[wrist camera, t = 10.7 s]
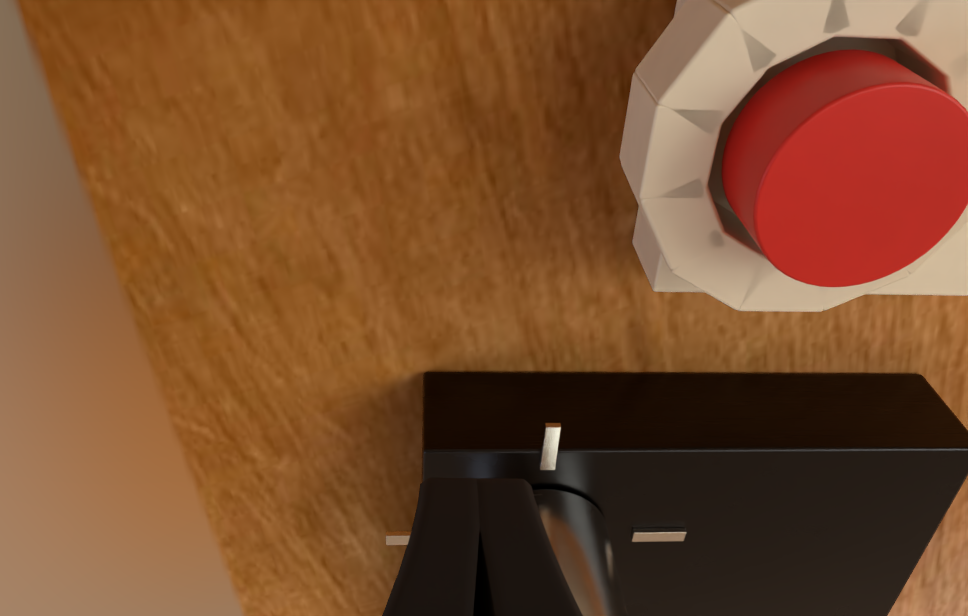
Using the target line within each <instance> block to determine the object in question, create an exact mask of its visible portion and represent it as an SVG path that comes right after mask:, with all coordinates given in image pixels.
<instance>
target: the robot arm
mask: <svg viewBox="0 0 968 616" xmlns="http://www.w3.org/2000/svg"><path fill="white" fill-rule="evenodd" d="M382 616H583V615H582V613H581V611H580V609H579V607H578V605H577V602H576V600H575V598H574V596H573V594H572V592H571V590H570V588H569V585H568V583H567V581H566V579H565V577H564V574H563V572H562V570H561V567H560V565H559V562H558V560H557V558H556V555H555V553H554V551H553V548H552V546H551V543H550V541H549V538H548V535H547V533H546V530H545V528H544V525H543V522H542V519H541V516H540V513H539V510H538V507H537V504H536V501H535V498H534V494H533V491H532V487H531V485H530V484H529V483H528V482H527V481H526V480H524V479H500V478H428V479H427V480H425V481H424V482H422V483H421V484H420V491H419V500H418V505H417V510H416V514H415V519H414V523H413V527H412V531H411V534H410V538H409V541H408V545H407V548H406V551H405V554H404V557H403V560H402V564H401V567H400V570H399V573H398V575H397V578H396V581H395V583H394V586H393V589H392V591H391V594H390V597H389V599H388V602H387V605H386V607H385V610H384V613H383V615H382Z"/></svg>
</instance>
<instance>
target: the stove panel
mask: <svg viewBox="0 0 968 616" xmlns="http://www.w3.org/2000/svg"><path fill="white" fill-rule="evenodd" d="M967 476H968V430H967V429H966V428H965V427H964V425H963V424H962V423H961V422H960V421H959V419H958V418H957V417H956V416H955V415H954V413H953V412H952V411H951V410H950V408H949V407H948V406H947V405H946V404H945V402H944V401H943V400H942V399H941V397H940V396H939V395H938V394H937V393H936V391H935V390H934V389H933V388H932V387H931V385H930V384H929V383H928V382H927V380H926V379H925V378H924V377H923V376H922V375H920V374H742V373H495V372H426V373H424V375H423V423H422V482H424V481H425V480H427V479H428V478H500V479H524V480H526V481H527V482H528V483H529V484H530V485H531V487H532V490H534V489H556V490H563V491H567V492H571V493H574V494H577V495H579V496H581V497H583V498H585V499H587V500H588V501H590V502H591V503H592V504H593V505H595V506H596V507H597V508H598V510H599V511H600V512H601V514H602V515H603V517H604V519H605V522H606V525H607V529H608V534H609V538H610V542H611V546H612V550H613V554H614V559H615V563H616V567H617V571H618V575H619V580H620V584H621V588H622V592H623V596H624V601H625V605H626V609H627V613H628V616H887V615H888V613H889V612H890V610H891V608H892V606H893V605H894V603H895V601H896V599H897V598H898V596H899V594H900V592H901V591H902V589H903V587H904V585H905V584H906V582H907V580H908V579H909V577H910V575H911V573H912V572H913V570H914V568H915V566H916V565H917V563H918V561H919V559H920V558H921V556H922V554H923V552H924V551H925V549H926V547H927V545H928V544H929V542H930V540H931V538H932V537H933V535H934V533H935V531H936V530H937V528H938V526H939V524H940V523H941V521H942V519H943V517H944V516H945V514H946V512H947V510H948V509H949V507H950V505H951V504H952V502H953V500H954V498H955V497H956V495H957V493H958V491H959V490H960V488H961V486H962V484H963V483H964V481H965V479H966V477H967ZM410 534H411V531H390V532H386V545H408V541H409V538H410Z"/></svg>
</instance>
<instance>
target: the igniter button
mask: <svg viewBox="0 0 968 616" xmlns="http://www.w3.org/2000/svg"><path fill="white" fill-rule="evenodd" d="M721 174H722V183H723V188H724V192H725V195H726V198H727V200H728V202H729V204H730V206H731V208H732V209H733V211H734V212H735V214H736V215H737V217H738V218H739V220H740V221H741V222H742V224H743V225H744V227H745V228H746V230H747V231H748V232H749V234H750V235H751V237H752V238H753V240H754V241H755V242H756V244H757V245H758V247H759V248H760V250H761V251H762V252H763V254H764V255H765V257H766V258H767V260H768V261H769V262H770V263H771V264H772V265H773V266H774V267H775V268H776V269H778V270H779V271H780V272H782V273H783V274H785V275H787V276H788V277H790V278H792V279H794V280H797V281H800V282H803V283H806V284H810V285H815V286H820V287H848V286H854V285H860V284H864V283H868V282H872V281H875V280H878V279H880V278H883V277H886V276H888V275H890V274H892V273H895V272H897V271H899V270H901V269H902V268H904V267H906V266H908V265H909V264H911V263H913V262H914V261H916V260H917V259H918V258H920V257H921V256H923V255H924V254H925V253H927V252H928V251H929V250H930V249H931V248H933V247H934V246H935V245H936V244H937V243H938V242H939V241H940V240H941V239H942V238H943V237H944V236H945V235H946V234H947V233H948V232H949V231H950V229H951V228H952V227H953V226H954V224H955V223H956V222H957V221H958V219H959V218H960V216H961V214H962V213H963V211H964V210H965V208H966V206H967V204H968V111H967V110H966V108H965V107H964V106H963V105H962V104H961V103H960V102H959V101H958V100H957V99H955V98H954V97H952V96H951V95H949V94H948V93H946V92H945V91H943V90H942V89H940V88H938V87H937V86H935V85H933V84H932V83H930V82H929V81H927V80H925V79H924V78H922V77H920V76H919V75H917V74H916V73H914V72H912V71H911V70H909V69H907V68H906V67H904V66H903V65H901V64H899V63H898V62H896V61H894V60H893V59H891V58H888V57H886V56H884V55H882V54H878V53H875V52H871V51H865V50H856V49H853V50H837V51H831V52H826V53H822V54H819V55H815V56H812V57H809V58H807V59H804V60H802V61H800V62H797V63H796V64H794V65H792V66H790V67H788V68H786V69H785V70H783V71H782V72H780V73H779V74H777V75H776V76H774V77H773V78H772V79H770V80H769V81H768V82H767V83H766V84H765V85H764V86H762V87H761V88H760V89H759V90H758V91H757V92H756V93H755V94H754V96H753V97H752V98H751V99H750V100H749V101H748V103H747V104H746V105H745V107H744V108H743V109H742V110H741V112H740V114H739V115H738V117H737V119H736V120H735V122H734V124H733V126H732V128H731V131H730V133H729V135H728V138H727V141H726V144H725V148H724V152H723V158H722V172H721Z"/></svg>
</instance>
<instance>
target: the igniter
mask: <svg viewBox="0 0 968 616" xmlns="http://www.w3.org/2000/svg"><path fill="white" fill-rule="evenodd" d="M853 49H856V50H865V51H871V52H875V53H878V54H882V55H884V56H886V57H888V58H891V59H893V60H894V61H896V62H898V63H899V64H901V65H903V66H904V67H906V68H907V69H909V70H911V71H912V72H914V73H916V74H917V75H919V76H920V77H922V78H924V79H925V80H927V81H929V82H930V83H932V84H933V85H935V86H937V87H938V88H940V89H942V90H943V91H945V92H946V93H948V94H949V95H951V96H952V97H954V98H955V99H957V100H958V101H959V102H960V103H961V104H962V105H963V106H964V107H965V108H966V110H967V111H968V0H677V2H676V8H675V13H674V18H673V19H672V21H671V22H670V23H669V25H668V26H667V27H666V29H665V30H664V31H663V33H662V34H661V36H660V37H659V38H658V40H657V41H656V42H655V44H654V45H653V46H652V48H651V49H650V50H649V52H648V53H647V54H646V56H645V57H644V58H643V60H642V61H641V62H640V64H639V65H638V66H637V68H636V70H635V72H634V73H633V76H632V83H631V89H630V95H629V101H628V107H627V113H626V119H625V126H624V132H623V138H622V144H621V150H620V156H619V158H620V160H621V166H622V168H623V171H624V173H625V175H626V177H627V180H628V182H629V184H630V187H631V189H632V191H633V193H634V196H635V198H636V200H637V202H638V205H639V208H638V213H637V219H636V224H635V230H634V235H633V241H632V243H633V246H634V248H635V250H636V253H637V255H638V257H639V260H640V262H641V264H642V266H643V269H644V271H645V273H646V276H647V278H648V280H649V282H650V285H651V287H652V289H653V291H655V292H705V293H707V294H709V295H711V296H712V297H714V298H716V299H717V300H719V301H721V302H723V303H724V304H726V305H728V306H729V307H731V308H733V309H735V310H738V311H784V312H821V311H825V310H828V309H830V308H833V307H835V306H837V305H840V304H842V303H845V302H847V301H850V300H852V299H854V298H857V297H859V296H862V295H864V294H878V295H957V296H968V204H967V206H966V208H965V210H964V211H963V213H962V214H961V216H960V218H959V219H958V221H957V222H956V223H955V224H954V226H953V227H952V228H951V229H950V231H949V232H948V233H947V234H946V235H945V236H944V237H943V238H942V239H941V240H940V241H939V242H938V243H937V244H936V245H935V246H934V247H933V248H931V249H930V250H929V251H928V252H927V253H925V254H924V255H923V256H921V257H920V258H918V259H917V260H916V261H914V262H913V263H911V264H909V265H908V266H906V267H904V268H902V269H901V270H899V271H897V272H895V273H892V274H890V275H888V276H886V277H883V278H880V279H878V280H875V281H872V282H868V283H864V284H860V285H854V286H848V287H820V286H815V285H810V284H806V283H803V282H800V281H797V280H794V279H792V278H790V277H788V276H787V275H785V274H783V273H782V272H780V271H779V270H778V269H776V268H775V267H774V266H773V265H772V264H771V263H770V262H769V261H768V260H767V258H766V257H765V255H764V254H763V252H762V251H761V250H760V248H759V247H758V245H757V244H756V242H755V241H754V240H753V238H752V237H751V235H750V234H749V232H748V231H747V230H746V228H745V227H744V225H743V224H742V222H741V221H740V220H739V218H738V217H737V215H736V214H735V212H734V211H733V209H732V208H731V206H730V204H729V202H728V200H727V198H726V195H725V192H724V188H723V183H722V174H721V172H722V158H723V152H724V148H725V144H726V141H727V138H728V135H729V133H730V131H731V128H732V126H733V124H734V122H735V120H736V119H737V117H738V115H739V114H740V112H741V110H742V109H743V108H744V107H745V105H746V104H747V103H748V101H749V100H750V99H751V98H752V97H753V96H754V94H755V93H756V92H757V91H758V90H759V89H760V88H761V87H762V86H764V85H765V84H766V83H767V82H768V81H769V80H770V79H772V78H773V77H774V76H776V75H777V74H779V73H780V72H782V71H783V70H785V69H786V68H788V67H790V66H792V65H794V64H796V63H797V62H800V61H802V60H804V59H807V58H809V57H812V56H815V55H819V54H822V53H826V52H831V51H837V50H853Z"/></svg>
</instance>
